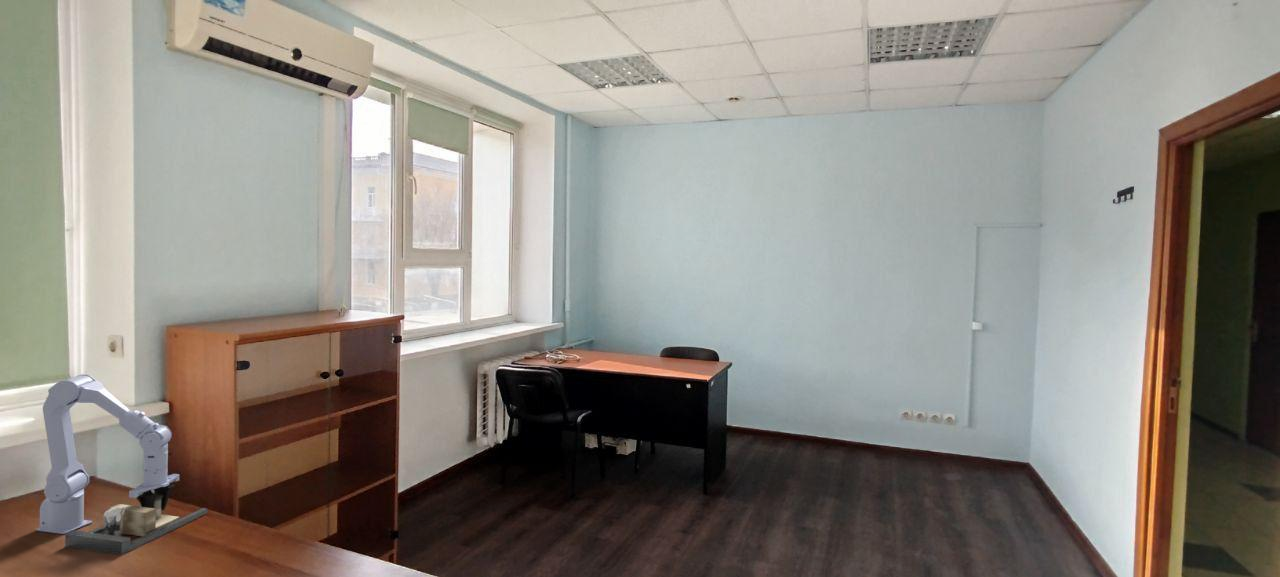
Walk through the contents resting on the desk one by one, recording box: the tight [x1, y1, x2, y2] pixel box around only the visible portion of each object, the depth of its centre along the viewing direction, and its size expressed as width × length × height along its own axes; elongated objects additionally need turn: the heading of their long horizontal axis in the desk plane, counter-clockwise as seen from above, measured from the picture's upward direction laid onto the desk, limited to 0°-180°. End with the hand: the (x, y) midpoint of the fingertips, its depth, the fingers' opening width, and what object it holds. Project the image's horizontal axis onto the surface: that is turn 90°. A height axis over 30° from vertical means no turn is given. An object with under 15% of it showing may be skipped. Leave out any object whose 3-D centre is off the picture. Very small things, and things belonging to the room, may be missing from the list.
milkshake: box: [103, 507, 125, 537], centre depth 171 cm, size 4×5×10 cm
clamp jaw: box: [108, 492, 181, 537], centre depth 180 cm, size 12×11×8 cm
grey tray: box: [64, 507, 208, 556], centre depth 179 cm, size 18×28×4 cm, turn 172°
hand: (154, 512), depth 183 cm, fingers closed on clamp jaw, 3 cm apart
